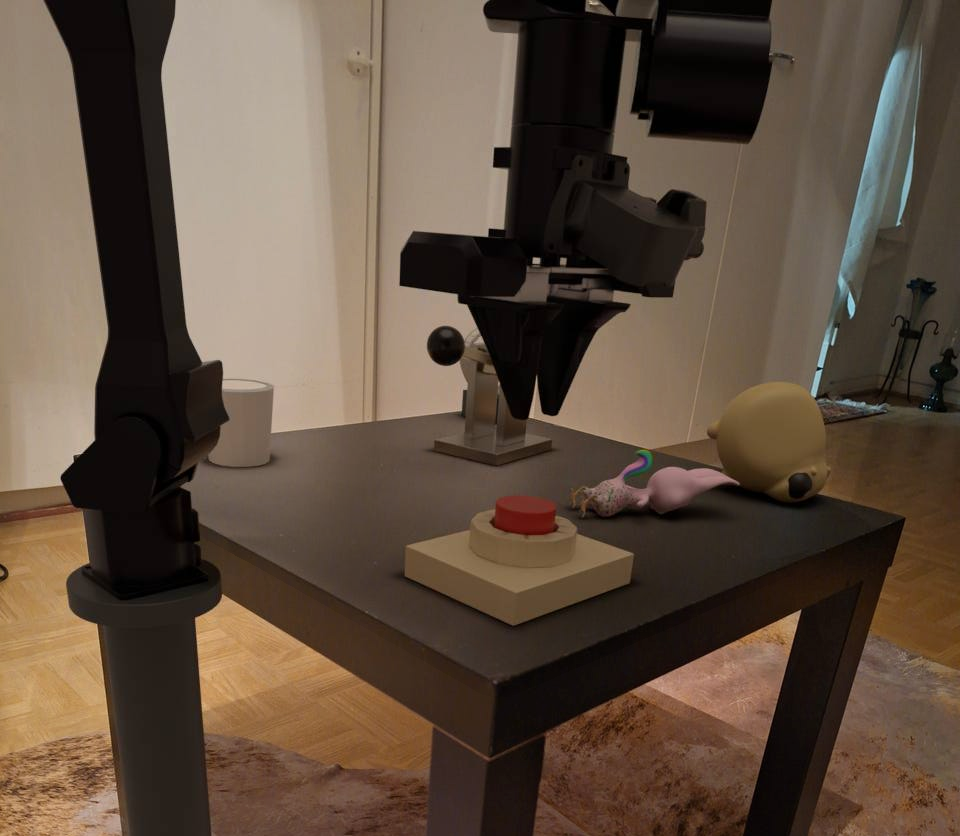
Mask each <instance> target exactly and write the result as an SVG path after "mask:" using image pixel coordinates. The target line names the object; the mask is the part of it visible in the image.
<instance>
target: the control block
mask: <svg viewBox="0 0 960 836" xmlns="http://www.w3.org/2000/svg"><path fill="white" fill-rule="evenodd" d="M494 519H495V508H494V509H490V510H485V511H481V512H478V513H476V515H474V517H472V519H470V525H469V526H470V527H469V529H468V530H464V531H460V532H456V533H451V534H448V535H447V534H446V535H443V536H439V537H435V538H432V539H428V540H422V541H419V542H415V543H411V544H407V545H405V555H404V556H405V557H404V577H405V578H408V579H410V580H412V581H415V582H417V583H419V584H421V585H423V586H425V587H426V588H430V589H432V590H434V591H436V592H438V593H440V594H443V595H445V596H446V597H449V598H451V599H453V600H455V601H458V602H460V603H462V604H464V605H466V606H469V607H471V608H473V609H475V610H476V611H479V612H482V613H484V614H486V615H488V616H490V617H492V618H495V619H497V620H499V621H501V622H503V623H506V624H508V625H510V626H512V627H514V626H517V625H519V624H522V623H526V622H528V621H531V620H533V619H536V618H539V617H541V616H544V615H547V614H550V613H553V612H555V611H558V610H560V609H563V608H566V607H569V606H572V605H574V604H578V603H579V602H583V601H585V600H588V599H590V598H593V597H596V596H599V595H601V594H604V593H607V592H609V591H612V590H615V589H618V588H621V587H624V586H626V585H629V584H630V583H631V579H632V571H633V565H634V564H633V563H634V558H635V553H634V552H631V551H628V550H624V549H623V548H622V549H621V548H619V547H617V546H613V545H611V544H608V543H604V542H603V541H599V540H596V539H593V538H591V537H587V536H585V535H582V534H579V533H578V527H577V526H576V525H575V524H574V523H573V522H571V521H570V520H569V519H567V518H565V517H562V516H559V515H556V517H555V526H554V532H553V533H550V534H546V535H521V534H514V533H507V532H504V531H501V530H499V529H496V528H494Z"/></svg>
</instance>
